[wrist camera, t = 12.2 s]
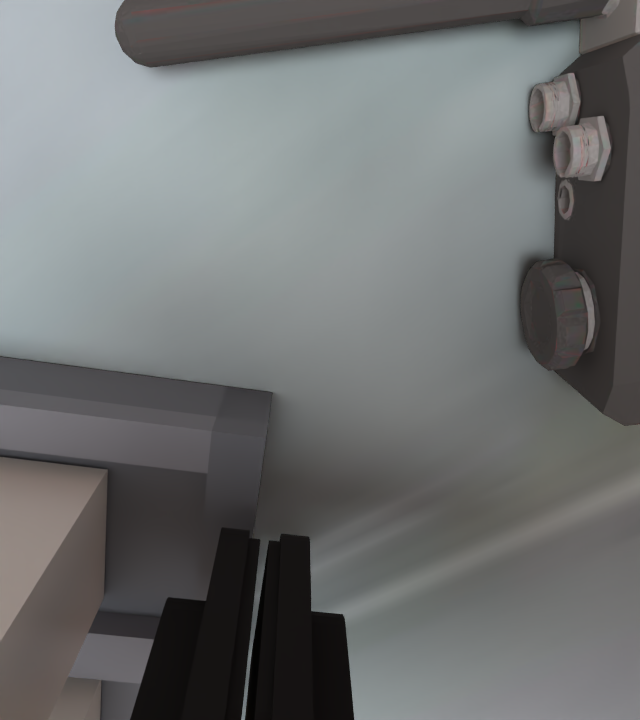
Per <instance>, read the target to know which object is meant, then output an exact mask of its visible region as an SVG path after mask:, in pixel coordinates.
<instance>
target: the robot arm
mask: <svg viewBox="0 0 640 720" xmlns="http://www.w3.org/2000/svg"><path fill="white" fill-rule="evenodd" d="M249 533H250V530H243V529H234V528H224V527H222V528H221V532H220V536H219V541H218V546H217V551H216V555H215V560H214V565H213V570H212V574H211V579H210V584H209V588H208V593H207V598H206V601H202V600H192V599H182V598H172V597H168V598H167V600H166V602H165V605H164V608H163V612H162V615H161V618H160V622H159V625H158V628H157V632H156V635H155V638H154V641H153V645H152V648H151V651H150V655H149V658H148V661H147V665H146V668H145V671H144V675H143V678H142V681H141V685H140V688H139V691H138V695H137V698H136V701H135V705H134V708H133V711H132V715H131V718H130V720H241V716H242V707H243V697H244V688H245V678H246V669H247V659H248V650H249V641H250V631H251V622H252V612H253V603H254V593H255V584H256V574H257V565H258V555H259V546H260V539H252V538H249ZM245 720H354V712H353V701H352V691H351V680H350V669H349V658H348V647H347V637H346V626H345V619H344V616H343V614H333V613H323V612H313V611H311V574H310V538H309V537H306V536H297V535H288V534H281V536H280V542H279V541H270V540H269V544H268V550H267V557H266V563H265V570H264V576H263V583H262V590H261V596H260V603H259V609H258V616H257V623H256V629H255V636H254V642H253V649H252V657H251V666H250V675H249V686H248V696H247V706H246V716H245Z"/></svg>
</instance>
